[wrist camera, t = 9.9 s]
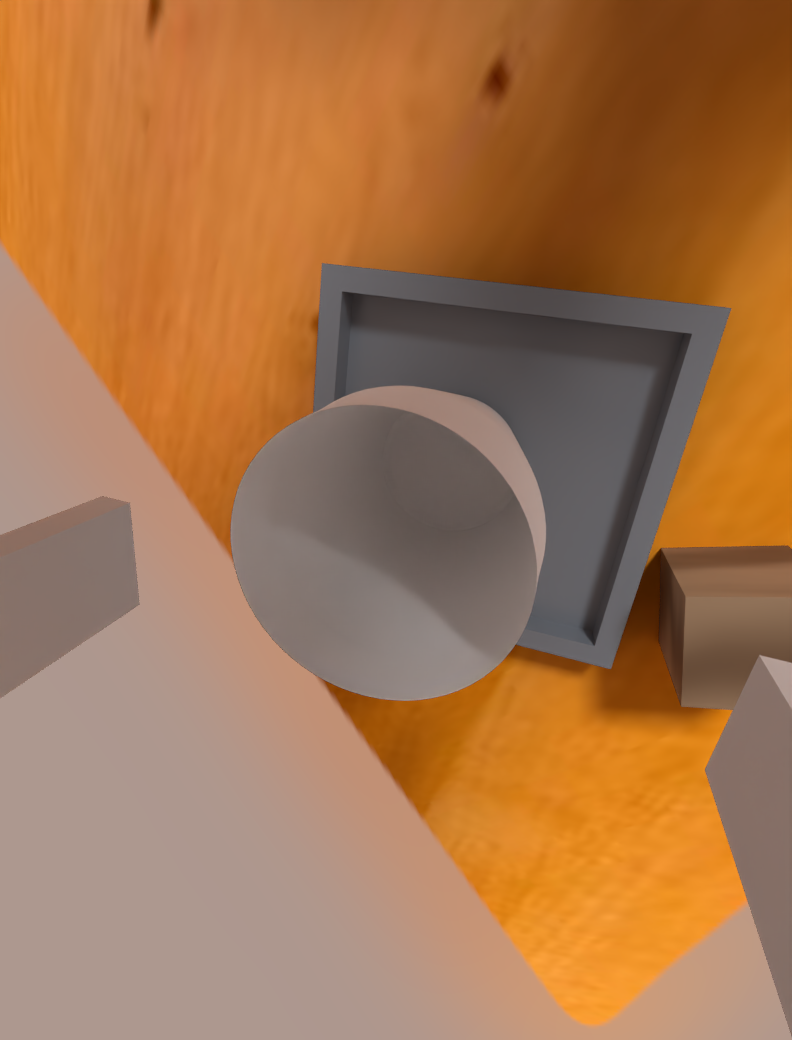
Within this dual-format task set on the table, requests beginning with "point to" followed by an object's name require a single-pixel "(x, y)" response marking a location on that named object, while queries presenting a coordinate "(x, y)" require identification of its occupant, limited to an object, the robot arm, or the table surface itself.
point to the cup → (392, 541)
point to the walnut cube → (723, 618)
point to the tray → (544, 412)
